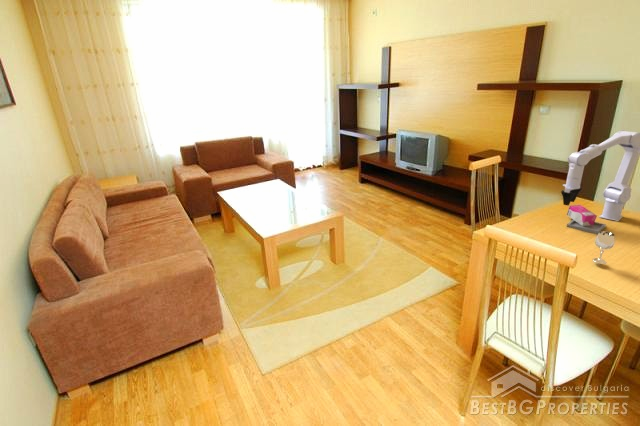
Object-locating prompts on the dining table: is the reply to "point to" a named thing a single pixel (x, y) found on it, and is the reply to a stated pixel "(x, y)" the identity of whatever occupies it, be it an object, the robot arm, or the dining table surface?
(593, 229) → the tray
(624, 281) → the dining table surface
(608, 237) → the wineglass
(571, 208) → the supplement box
